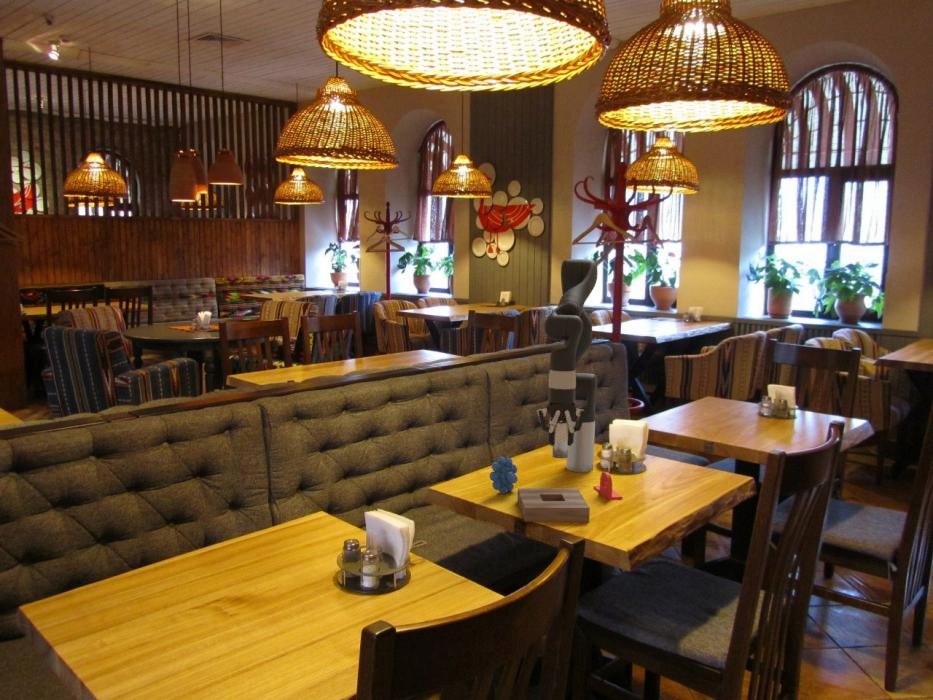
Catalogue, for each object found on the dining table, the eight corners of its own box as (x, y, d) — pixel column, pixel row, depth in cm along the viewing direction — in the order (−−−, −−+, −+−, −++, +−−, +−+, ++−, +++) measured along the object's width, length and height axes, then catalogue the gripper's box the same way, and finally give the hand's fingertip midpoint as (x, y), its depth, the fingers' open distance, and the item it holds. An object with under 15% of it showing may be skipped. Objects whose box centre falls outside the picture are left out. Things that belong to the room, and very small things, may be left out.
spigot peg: (550, 454, 222) (551, 420, 221) (566, 454, 223) (567, 420, 222) (553, 458, 218) (554, 423, 217) (569, 458, 218) (570, 423, 217)
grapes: (500, 500, 231) (500, 461, 230) (484, 495, 236) (485, 457, 235) (526, 493, 239) (527, 455, 238) (510, 488, 244) (511, 451, 243)
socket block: (517, 501, 231) (517, 488, 231) (577, 501, 232) (577, 488, 231) (524, 521, 213) (524, 507, 213) (589, 521, 214) (589, 507, 213)
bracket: (622, 500, 234) (623, 474, 233) (608, 501, 233) (609, 475, 232) (606, 488, 246) (607, 464, 245) (593, 489, 245) (594, 465, 244)
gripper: (584, 383, 222) (582, 442, 224) (534, 383, 221) (533, 442, 223) (589, 388, 215) (587, 448, 217) (538, 387, 214) (537, 448, 216)
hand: (560, 444), depth 220 cm, fingers closed on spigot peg, 4 cm apart
